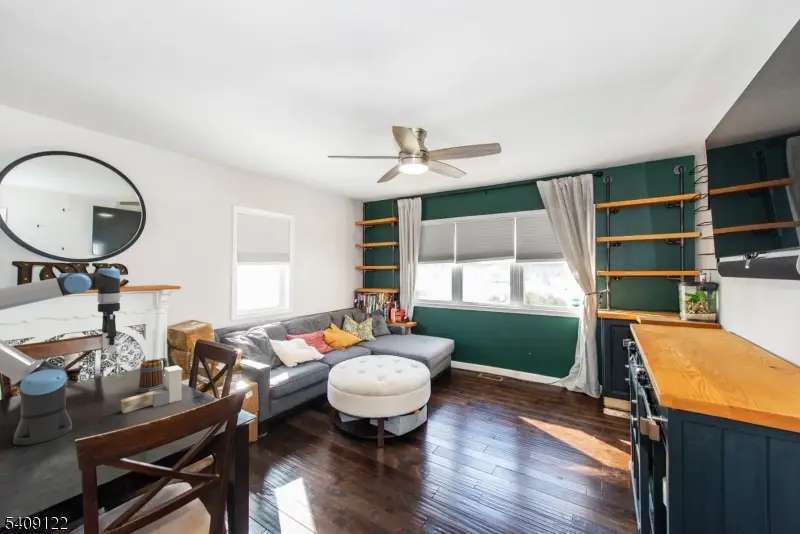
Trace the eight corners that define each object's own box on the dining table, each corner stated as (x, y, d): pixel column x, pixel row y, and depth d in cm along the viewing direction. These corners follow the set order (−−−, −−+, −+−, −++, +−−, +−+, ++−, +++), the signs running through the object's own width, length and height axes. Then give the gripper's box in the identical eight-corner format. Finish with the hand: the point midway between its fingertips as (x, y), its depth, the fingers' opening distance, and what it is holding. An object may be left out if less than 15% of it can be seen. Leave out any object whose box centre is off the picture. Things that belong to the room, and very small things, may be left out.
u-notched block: (153, 407, 150) (154, 374, 149) (149, 402, 155) (149, 370, 155) (182, 399, 158) (182, 368, 158) (177, 395, 164) (177, 365, 164)
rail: (123, 413, 143) (122, 402, 143) (121, 410, 146) (120, 399, 146) (166, 400, 155) (166, 389, 155) (164, 398, 158) (163, 387, 158)
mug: (153, 394, 164) (153, 364, 164) (132, 394, 164) (132, 364, 164) (175, 383, 180) (175, 356, 180) (156, 382, 180) (156, 355, 180)
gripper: (125, 304, 142) (124, 353, 142) (115, 299, 159) (115, 343, 159) (101, 305, 136) (101, 356, 137) (94, 301, 153) (93, 346, 153)
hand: (108, 349), depth 148 cm, fingers open, 13 cm apart
